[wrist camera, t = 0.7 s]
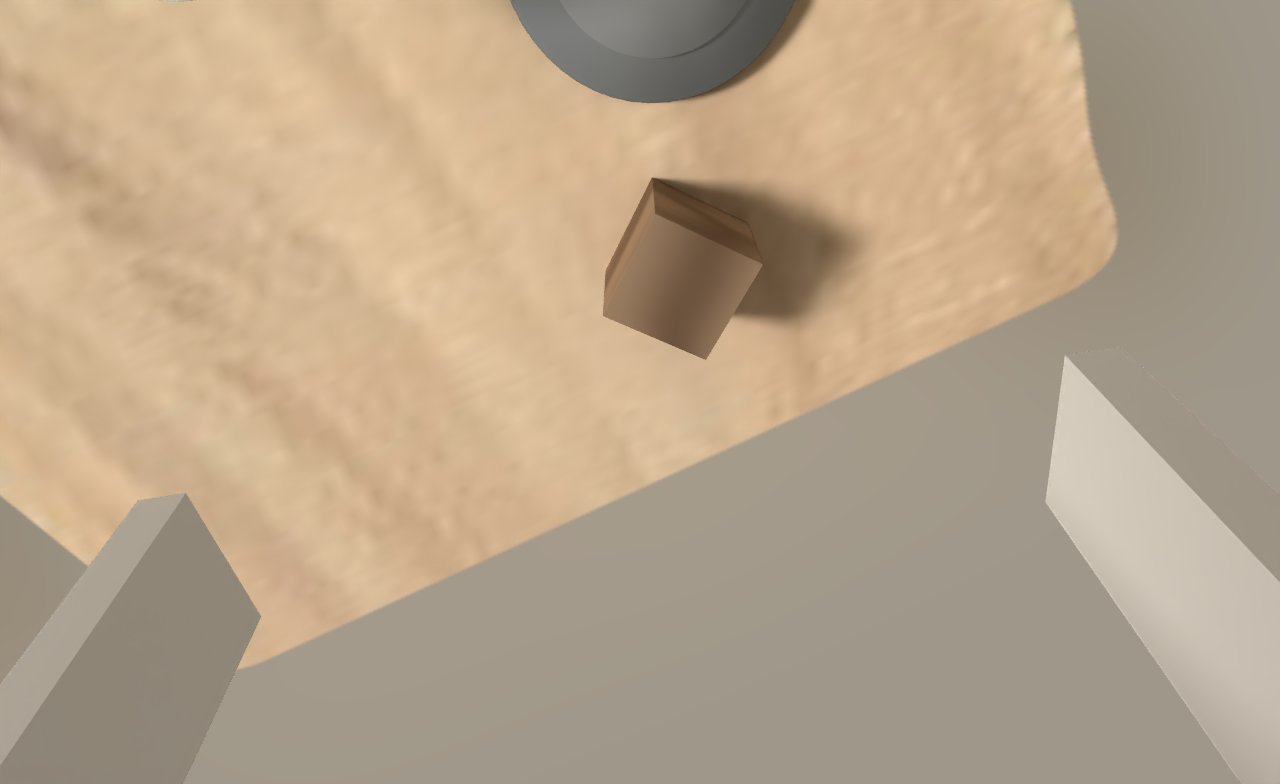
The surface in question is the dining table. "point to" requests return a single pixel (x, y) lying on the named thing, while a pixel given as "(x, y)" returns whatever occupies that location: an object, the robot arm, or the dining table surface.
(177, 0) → the coffee cup
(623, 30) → the saucer
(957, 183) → the dining table surface
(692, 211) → the walnut block
